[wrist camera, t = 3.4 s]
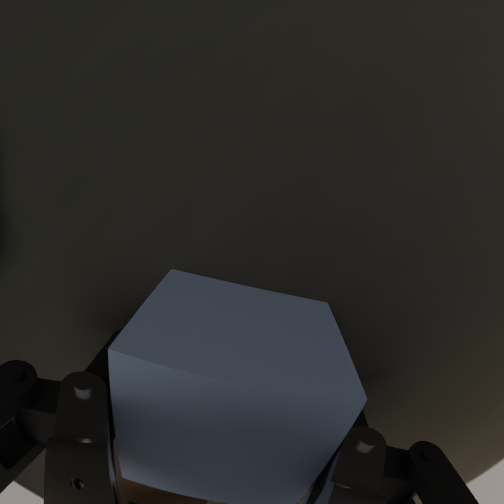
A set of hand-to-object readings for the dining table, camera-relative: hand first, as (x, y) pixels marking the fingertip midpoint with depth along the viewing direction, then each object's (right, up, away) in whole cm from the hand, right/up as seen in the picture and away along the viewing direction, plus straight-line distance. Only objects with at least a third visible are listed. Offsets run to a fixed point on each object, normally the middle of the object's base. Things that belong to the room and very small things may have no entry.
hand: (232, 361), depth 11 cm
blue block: (0, 0, +1) cm, 1 cm away
